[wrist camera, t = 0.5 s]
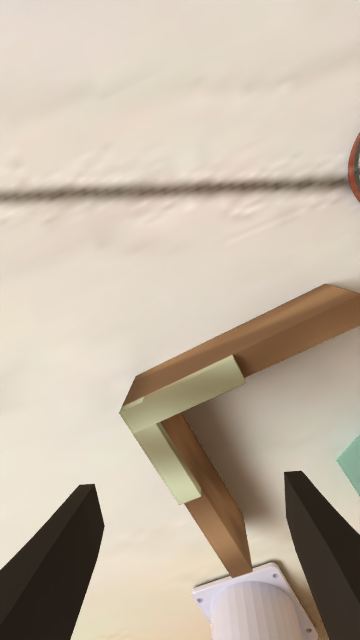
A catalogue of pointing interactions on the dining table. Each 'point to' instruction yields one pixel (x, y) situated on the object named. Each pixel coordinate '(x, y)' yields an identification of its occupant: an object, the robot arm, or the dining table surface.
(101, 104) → the dining table surface
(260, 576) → the robot arm
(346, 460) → the teal cube
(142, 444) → the corner arena
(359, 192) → the supplement bottle
